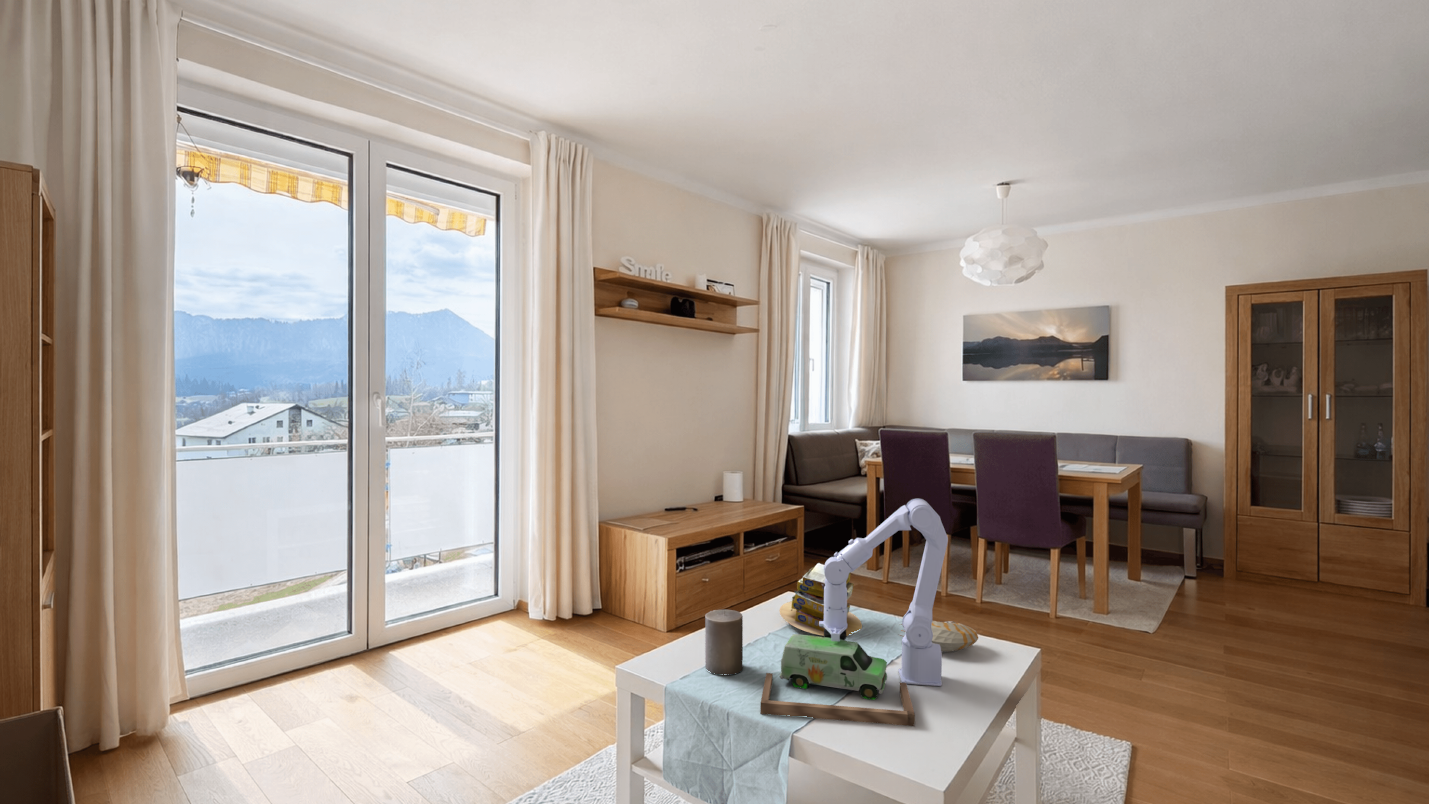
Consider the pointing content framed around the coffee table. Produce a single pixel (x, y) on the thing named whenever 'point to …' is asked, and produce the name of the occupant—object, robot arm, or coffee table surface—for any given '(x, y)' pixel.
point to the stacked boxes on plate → (814, 604)
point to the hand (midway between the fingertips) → (834, 659)
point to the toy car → (832, 665)
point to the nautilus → (952, 635)
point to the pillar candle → (724, 641)
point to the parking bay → (839, 709)
